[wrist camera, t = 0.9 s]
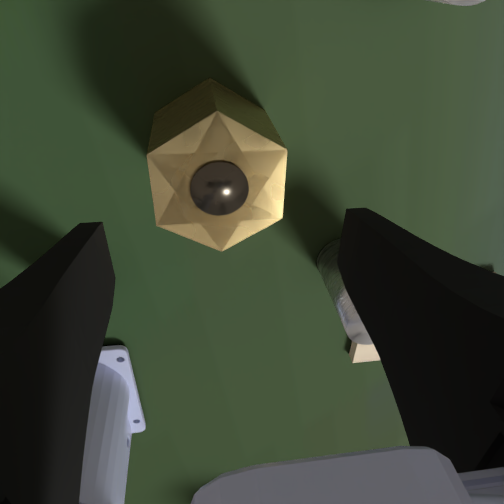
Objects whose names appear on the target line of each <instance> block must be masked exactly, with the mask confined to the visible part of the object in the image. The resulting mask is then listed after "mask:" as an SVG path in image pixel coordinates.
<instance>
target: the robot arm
mask: <svg viewBox="0 0 504 504" xmlns="http://www.w3.org/2000/svg"><path fill="white" fill-rule="evenodd" d="M337 265H338V268H339V271H340V274H341V277H342V280H343V283H344V286H345V289H346V291H347V293H348V295H349V297H350V299H351V301H352V303H353V305H354V307H355V309H356V311H357V313H358V315H359V317H360V319H361V321H362V323H363V325H364V327H365V329H366V331H367V332H368V334H369V336H370V338H371V340H372V342H373V344H374V346H375V348H376V351H377V353H378V355H379V357H380V360H381V362H382V365H383V368H384V370H385V373H386V376H387V378H388V381H389V383H390V386H391V389H392V392H393V395H394V398H395V401H396V404H397V406H398V409H399V412H400V415H401V418H402V421H403V425H404V428H405V431H406V434H407V437H408V441H409V444H410V446H396V447H388V448H381V449H373V450H365V451H358V452H350V453H343V454H335V455H327V456H320V457H312V458H304V459H297V460H289V461H281V462H274V463H266V464H258V465H252V466H249V467H245V468H241V469H237V470H234V471H230V472H226V473H223V474H221V475H219V476H218V477H216V478H215V479H213V480H212V481H210V482H208V483H207V484H205V485H204V486H202V487H201V488H200V489H199V490H198V491H197V492H196V493H195V494H194V497H193V499H192V502H191V504H504V276H502V275H499V274H496V273H494V272H491V271H488V270H486V269H483V268H481V267H478V266H476V265H474V264H471V263H469V262H467V261H464V260H462V259H460V258H458V257H455V256H453V255H451V254H449V253H447V252H445V251H443V250H441V249H439V248H437V247H435V246H433V245H432V244H430V243H428V242H426V241H424V240H422V239H421V238H419V237H417V236H415V235H413V234H412V233H410V232H408V231H407V230H405V229H403V228H401V227H400V226H398V225H396V224H395V223H393V222H391V221H389V220H388V219H386V218H384V217H383V216H381V215H379V214H377V213H375V212H373V211H371V210H369V209H367V208H353V209H346V214H345V219H344V225H343V230H342V236H341V242H340V247H339V253H338V259H337ZM114 288H115V274H114V270H113V266H112V261H111V257H110V253H109V248H108V244H107V240H106V235H105V231H104V227H103V222H92V223H80V224H78V225H77V226H76V227H75V228H73V229H72V230H71V231H70V232H69V233H68V234H67V235H65V236H64V237H63V238H62V239H61V240H60V241H59V242H58V243H56V244H55V245H54V246H53V247H52V248H51V249H50V250H48V251H47V252H46V253H45V254H44V255H43V256H42V257H40V258H39V259H38V260H37V261H36V262H34V263H33V264H32V265H31V266H29V267H28V268H27V269H26V270H24V271H23V272H22V273H20V274H19V275H18V276H17V277H15V278H14V279H13V280H12V281H10V282H9V283H8V284H6V285H5V286H3V287H2V288H1V289H0V504H124V499H125V490H126V481H127V472H128V463H129V453H130V444H131V435H132V433H137V432H142V431H144V430H145V425H146V424H145V419H144V415H143V411H142V407H141V403H140V399H139V394H138V390H137V386H136V382H135V378H134V374H133V369H132V365H131V361H130V357H129V353H128V349H127V348H126V347H125V346H123V345H114V346H103V342H104V338H105V335H106V331H107V327H108V323H109V319H110V315H111V311H112V306H113V297H114ZM102 346H103V347H102ZM120 357H123V358H120Z"/></svg>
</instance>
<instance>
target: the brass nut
mask: <svg viewBox="0 0 504 504" xmlns="http://www.w3.org/2000/svg"><path fill="white" fill-rule="evenodd" d="M147 161H148V168H149V175H150V182H151V189H152V196H153V203H154V211H155V218H156V225H157V226H159V227H161V228H164V229H166V230H169V231H172V232H174V233H177V234H179V235H182V236H184V237H187V238H189V239H192V240H194V241H197V242H199V243H202V244H204V245H207V246H209V247H212V248H214V249H217V250H219V251H224V250H225V249H227V248H229V247H231V246H233V245H235V244H236V243H238V242H240V241H242V240H244V239H246V238H247V237H249V236H251V235H253V234H255V233H257V232H259V231H260V230H262V229H264V228H266V227H268V226H270V225H271V224H273V223H275V222H277V221H279V220H281V219H282V217H283V203H284V190H285V176H286V162H287V148H286V147H285V145H284V143H283V141H282V140H281V138H280V136H279V134H278V132H277V131H276V129H275V127H274V125H273V124H272V122H271V120H270V118H269V116H268V115H267V113H266V111H265V110H264V109H262V108H260V107H259V106H257V105H255V104H254V103H252V102H250V101H249V100H247V99H245V98H243V97H242V96H240V95H238V94H237V93H235V92H233V91H232V90H230V89H228V88H226V87H225V86H223V85H221V84H220V83H218V82H216V81H214V80H213V79H211V78H208V79H206V80H205V81H203V82H202V83H200V84H199V85H197V86H195V87H194V88H192V89H191V90H189V91H188V92H186V93H185V94H183V95H181V96H180V97H178V98H177V99H175V100H174V101H172V102H171V103H169V104H167V105H166V106H164V107H163V108H161V109H160V110H158V111H157V112H155V115H154V120H153V125H152V130H151V135H150V140H149V145H148V151H147Z"/></svg>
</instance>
